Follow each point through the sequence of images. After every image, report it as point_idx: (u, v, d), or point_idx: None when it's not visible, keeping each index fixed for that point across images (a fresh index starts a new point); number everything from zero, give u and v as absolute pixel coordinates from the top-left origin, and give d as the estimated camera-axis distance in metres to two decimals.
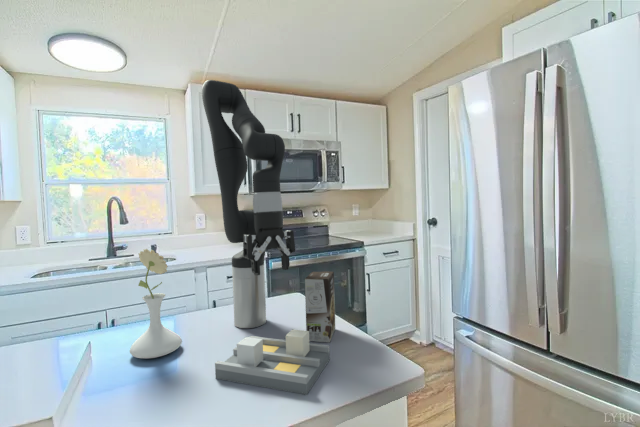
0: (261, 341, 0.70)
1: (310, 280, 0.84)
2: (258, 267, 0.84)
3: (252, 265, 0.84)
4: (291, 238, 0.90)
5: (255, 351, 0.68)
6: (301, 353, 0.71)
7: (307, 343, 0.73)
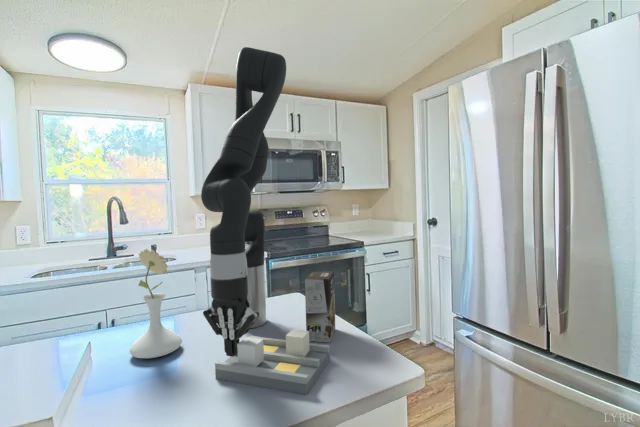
0: (262, 341, 0.70)
1: (310, 280, 0.84)
2: None
3: None
4: None
5: (255, 351, 0.68)
6: (301, 353, 0.71)
7: (307, 343, 0.73)
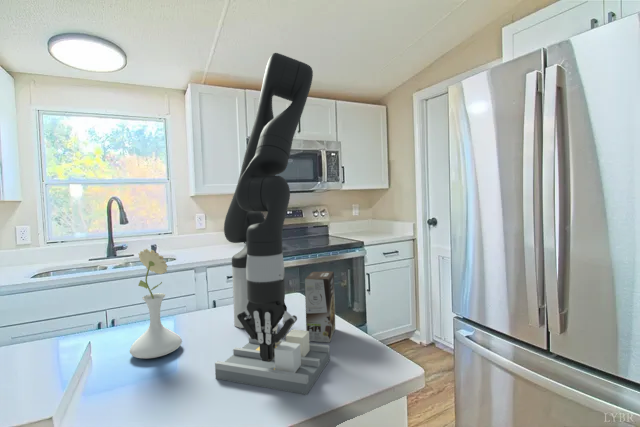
0: (299, 346, 0.67)
1: (310, 280, 0.84)
2: None
3: (273, 348, 0.68)
4: None
5: (294, 356, 0.65)
6: (301, 353, 0.71)
7: (307, 343, 0.73)
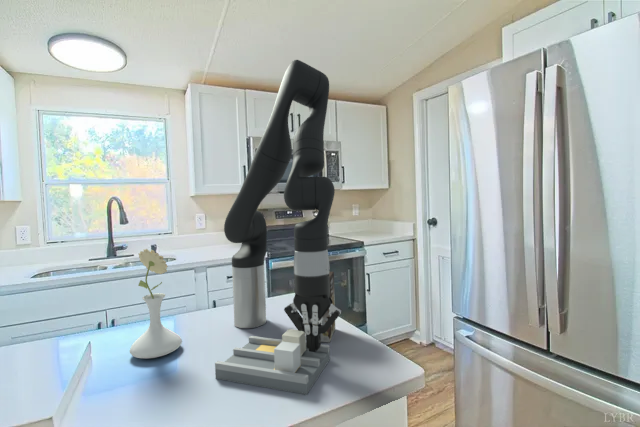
0: (299, 346, 0.68)
1: None
2: None
3: (319, 339, 0.72)
4: None
5: (293, 356, 0.65)
6: None
7: (303, 343, 0.74)
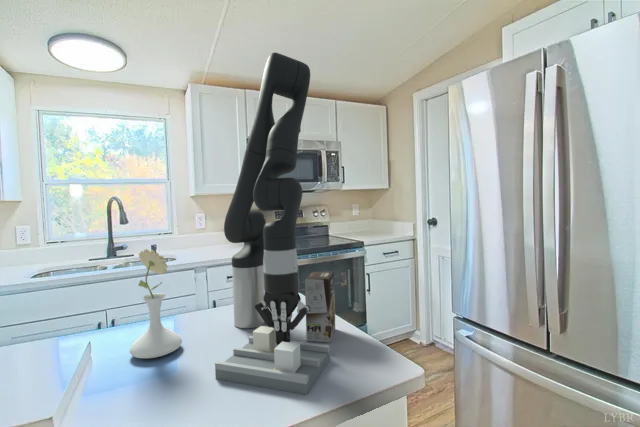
0: (299, 346, 0.68)
1: (310, 280, 0.84)
2: None
3: (288, 335, 0.74)
4: None
5: (293, 356, 0.65)
6: (267, 348, 0.74)
7: (274, 339, 0.76)
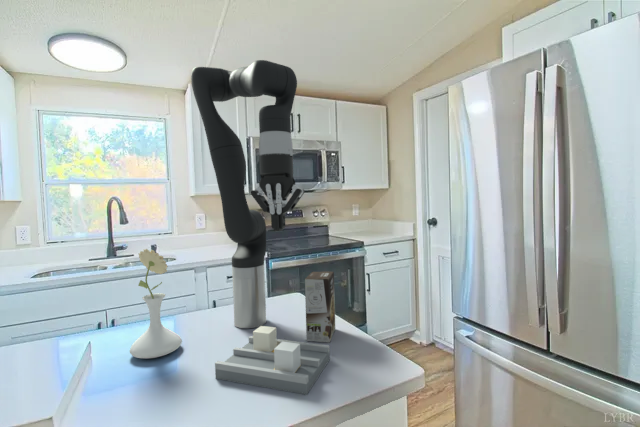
0: (299, 346, 0.68)
1: (310, 280, 0.84)
2: None
3: (283, 219, 0.76)
4: None
5: (293, 356, 0.65)
6: (267, 348, 0.74)
7: (274, 339, 0.76)
